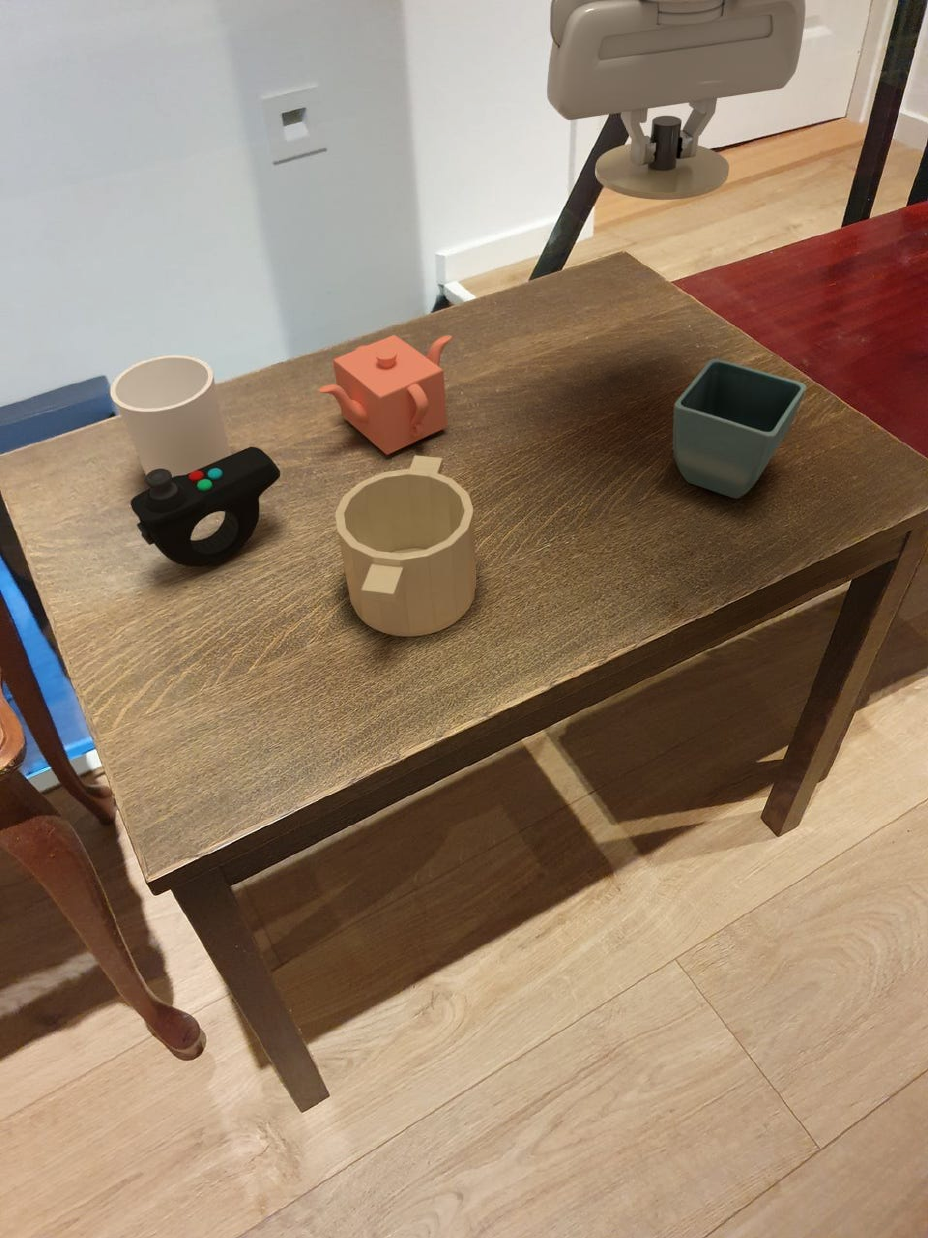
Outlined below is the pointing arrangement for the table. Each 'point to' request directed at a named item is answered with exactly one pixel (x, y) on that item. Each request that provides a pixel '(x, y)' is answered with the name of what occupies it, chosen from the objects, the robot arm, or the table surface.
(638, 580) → the table surface
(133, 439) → the mug
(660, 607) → the table surface
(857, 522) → the table surface
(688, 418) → the flower pot
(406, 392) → the teapot
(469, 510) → the pot
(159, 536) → the controller
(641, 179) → the lid
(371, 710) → the table surface
